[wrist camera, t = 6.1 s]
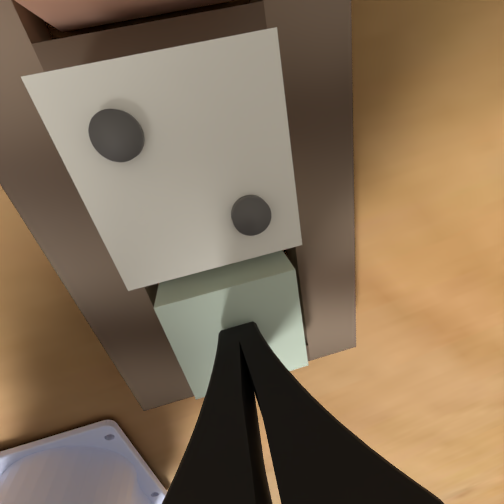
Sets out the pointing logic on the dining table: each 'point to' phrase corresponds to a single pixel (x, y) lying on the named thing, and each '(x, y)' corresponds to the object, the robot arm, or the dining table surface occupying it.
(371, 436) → the dining table surface
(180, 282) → the tile one
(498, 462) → the dining table surface
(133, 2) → the tile three
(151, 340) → the dice tray
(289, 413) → the robot arm
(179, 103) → the tile two
